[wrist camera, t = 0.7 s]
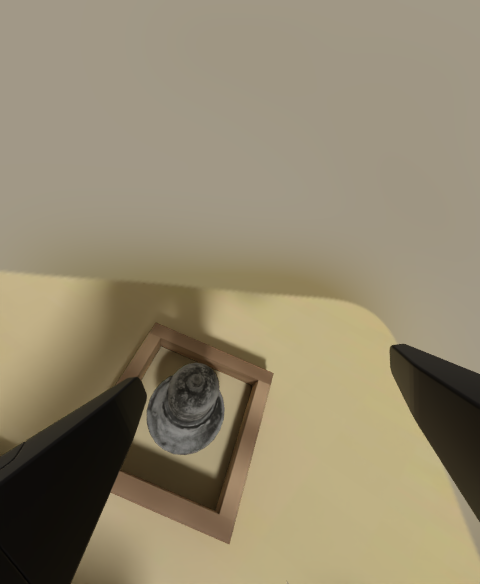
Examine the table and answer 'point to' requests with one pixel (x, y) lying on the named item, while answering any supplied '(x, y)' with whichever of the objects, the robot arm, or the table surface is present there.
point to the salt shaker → (186, 410)
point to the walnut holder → (233, 486)
